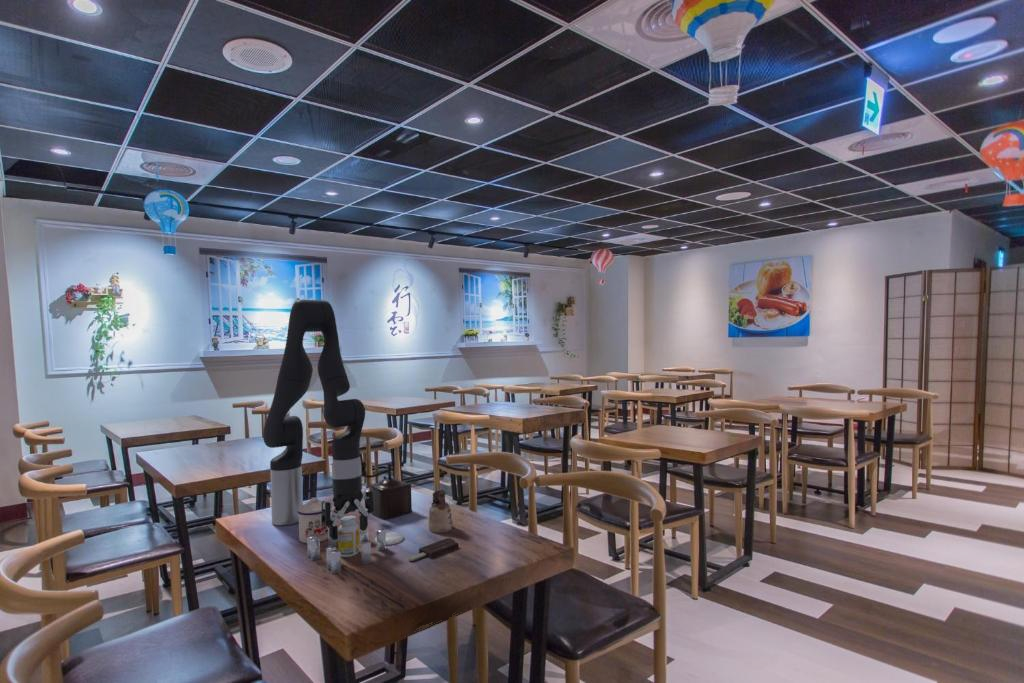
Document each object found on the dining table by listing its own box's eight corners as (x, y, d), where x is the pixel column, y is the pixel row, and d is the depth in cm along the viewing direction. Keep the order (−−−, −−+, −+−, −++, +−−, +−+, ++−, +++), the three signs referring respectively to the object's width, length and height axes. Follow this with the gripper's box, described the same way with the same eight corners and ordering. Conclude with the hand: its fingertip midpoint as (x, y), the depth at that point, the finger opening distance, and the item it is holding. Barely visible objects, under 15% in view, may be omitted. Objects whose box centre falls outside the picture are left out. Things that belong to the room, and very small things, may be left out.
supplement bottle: (345, 559, 138) (344, 522, 138) (334, 554, 142) (333, 518, 142) (363, 552, 143) (362, 517, 142) (352, 547, 146) (351, 513, 146)
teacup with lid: (304, 546, 147) (303, 505, 147) (294, 537, 155) (293, 498, 154) (346, 535, 155) (345, 496, 155) (334, 527, 162) (333, 489, 162)
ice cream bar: (415, 565, 134) (461, 548, 145) (415, 559, 134) (460, 542, 145) (403, 560, 138) (449, 543, 149) (403, 553, 138) (448, 537, 149)
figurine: (450, 523, 163) (449, 484, 163) (455, 531, 157) (453, 490, 156) (427, 526, 161) (425, 487, 161) (431, 534, 154) (429, 493, 154)
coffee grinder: (395, 505, 182) (394, 453, 182) (412, 512, 174) (411, 458, 174) (353, 516, 172) (351, 461, 172) (369, 524, 164) (367, 466, 164)
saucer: (369, 540, 151) (369, 538, 151) (392, 532, 157) (392, 530, 157) (385, 547, 145) (385, 545, 145) (409, 538, 151) (409, 536, 151)
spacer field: (299, 554, 142) (298, 536, 142) (357, 535, 155) (357, 518, 155) (336, 575, 129) (335, 555, 129) (396, 552, 142) (396, 534, 142)
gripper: (362, 466, 150) (364, 524, 150) (315, 477, 139) (317, 539, 139) (377, 470, 145) (379, 529, 145) (329, 482, 134) (331, 546, 134)
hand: (349, 534), depth 142 cm, fingers open, 8 cm apart
